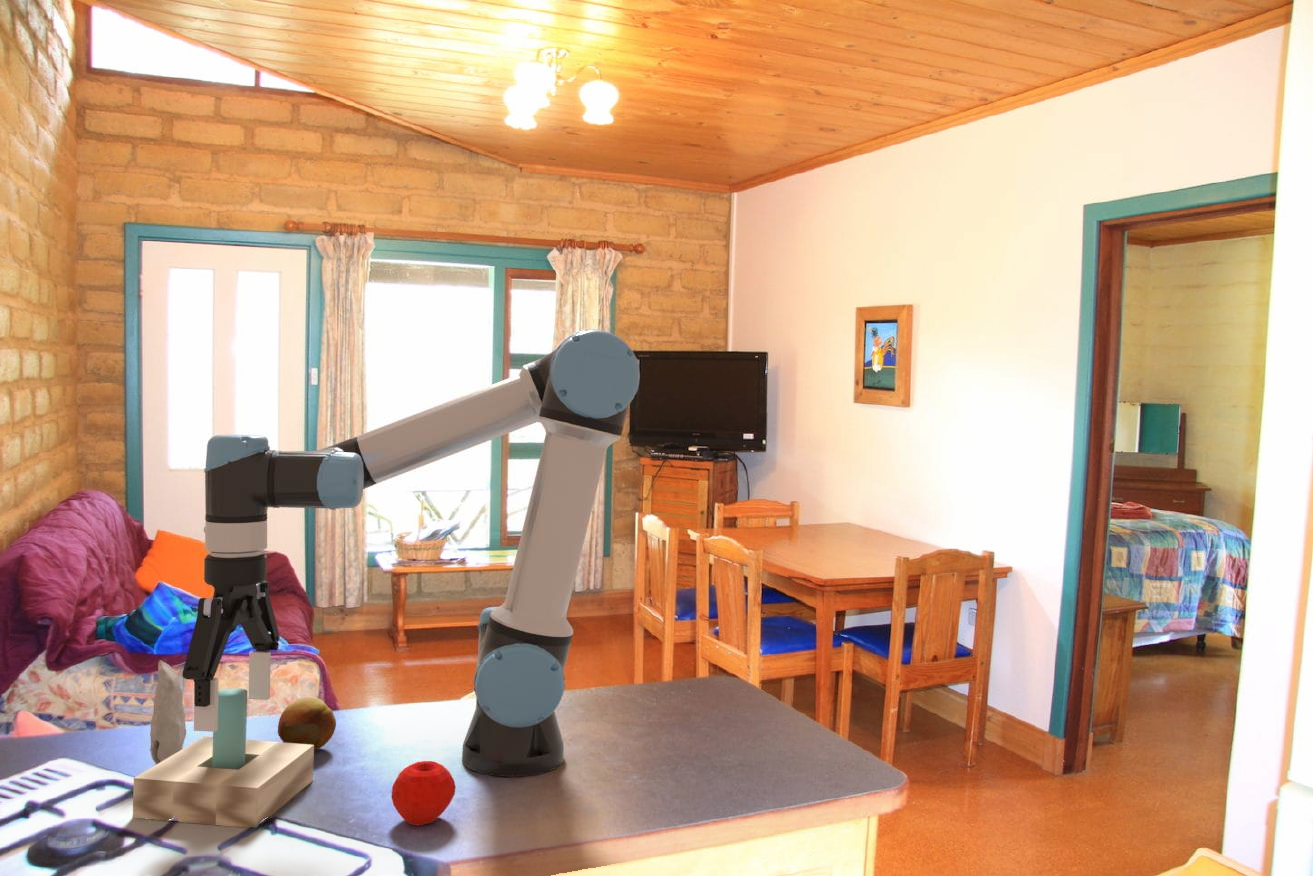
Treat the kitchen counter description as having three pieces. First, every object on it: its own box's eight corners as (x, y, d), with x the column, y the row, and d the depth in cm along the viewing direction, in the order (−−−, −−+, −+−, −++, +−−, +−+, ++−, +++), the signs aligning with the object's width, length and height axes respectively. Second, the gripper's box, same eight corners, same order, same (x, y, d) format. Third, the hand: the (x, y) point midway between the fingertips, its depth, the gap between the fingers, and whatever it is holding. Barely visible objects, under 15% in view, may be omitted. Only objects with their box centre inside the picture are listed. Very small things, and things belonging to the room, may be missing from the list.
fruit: (338, 756, 147) (340, 702, 147) (279, 762, 144) (281, 708, 143) (331, 739, 154) (333, 689, 154) (274, 745, 150) (276, 693, 150)
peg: (249, 793, 132) (253, 689, 131) (234, 805, 128) (237, 698, 127) (221, 791, 132) (224, 687, 132) (204, 803, 128) (208, 696, 128)
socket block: (312, 780, 137) (314, 745, 137) (256, 828, 121) (257, 788, 121) (202, 771, 139) (204, 736, 139) (132, 818, 123) (133, 778, 123)
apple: (454, 833, 123) (457, 774, 122) (388, 836, 121) (391, 776, 121) (454, 807, 130) (456, 751, 130) (392, 810, 129) (394, 753, 129)
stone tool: (166, 778, 136) (170, 669, 135) (141, 778, 135) (145, 669, 135) (189, 754, 145) (192, 653, 145) (165, 754, 145) (169, 652, 144)
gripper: (255, 539, 142) (253, 686, 143) (151, 566, 117) (149, 744, 118) (305, 541, 141) (303, 688, 142) (212, 569, 116) (210, 747, 117)
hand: (233, 714), depth 130 cm, fingers open, 13 cm apart
